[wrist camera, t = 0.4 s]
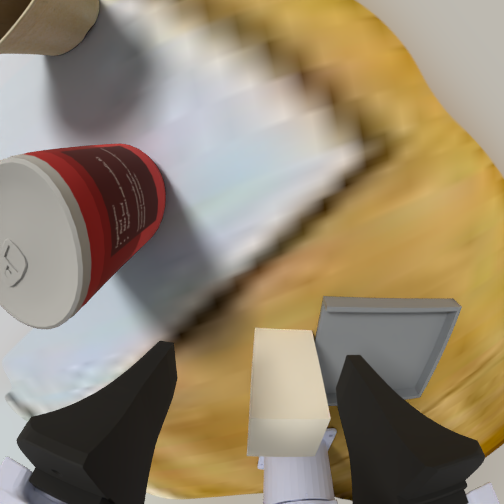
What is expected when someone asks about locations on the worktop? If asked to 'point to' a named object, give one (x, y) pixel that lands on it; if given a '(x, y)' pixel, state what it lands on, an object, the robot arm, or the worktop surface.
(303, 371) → the cream block
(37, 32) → the flower pot
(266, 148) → the worktop surface
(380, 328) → the tray
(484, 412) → the worktop surface
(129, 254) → the canned food
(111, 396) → the robot arm
